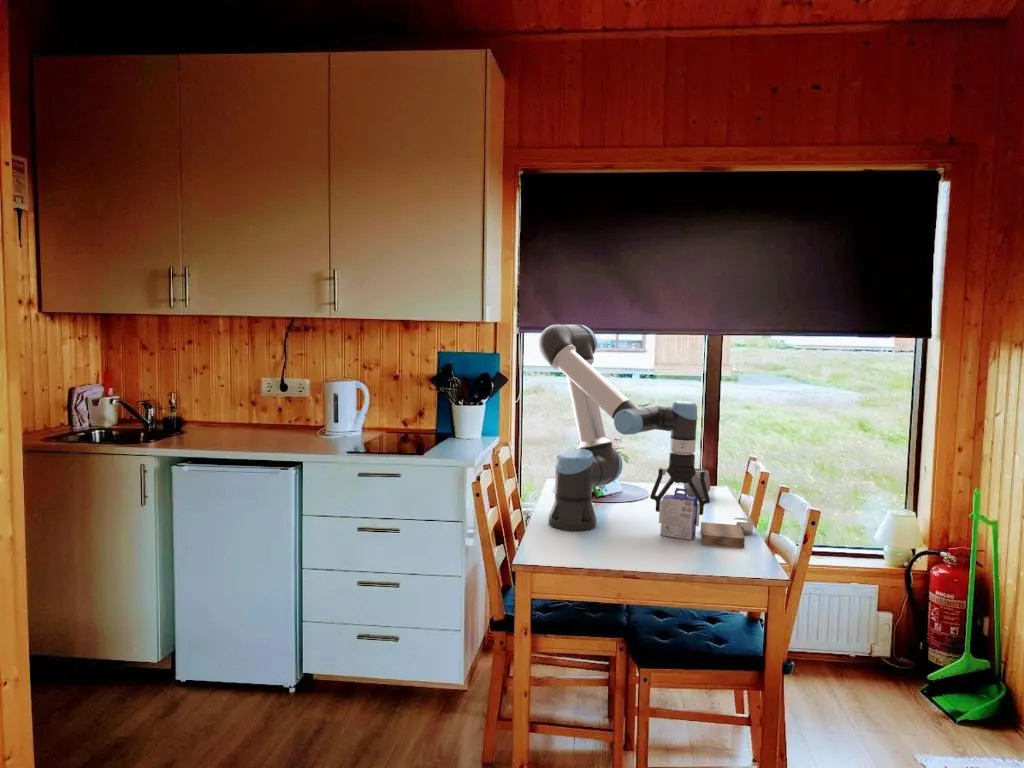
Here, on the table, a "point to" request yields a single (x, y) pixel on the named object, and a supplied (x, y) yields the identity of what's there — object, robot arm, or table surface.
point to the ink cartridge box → (679, 515)
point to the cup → (698, 484)
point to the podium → (722, 535)
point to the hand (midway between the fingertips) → (678, 523)
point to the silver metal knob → (744, 525)
